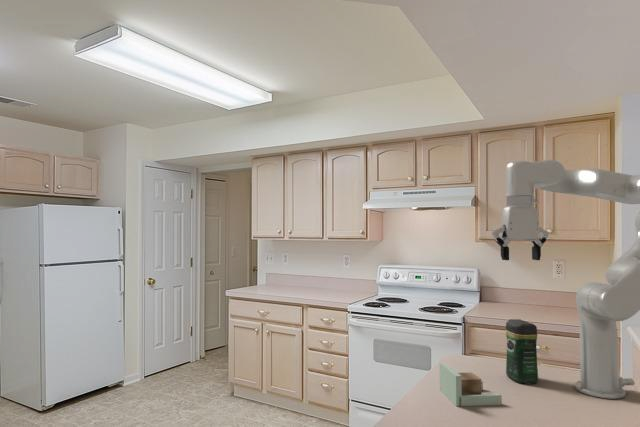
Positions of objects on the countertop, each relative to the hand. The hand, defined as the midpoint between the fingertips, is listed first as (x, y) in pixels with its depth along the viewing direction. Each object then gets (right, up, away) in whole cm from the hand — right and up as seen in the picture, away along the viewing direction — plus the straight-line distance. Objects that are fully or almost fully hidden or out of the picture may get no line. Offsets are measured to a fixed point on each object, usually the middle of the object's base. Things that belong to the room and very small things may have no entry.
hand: (520, 260), depth 133 cm
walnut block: (-19, -38, -7) cm, 43 cm away
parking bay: (-18, -38, -7) cm, 43 cm away
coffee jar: (+4, -39, +8) cm, 40 cm away
